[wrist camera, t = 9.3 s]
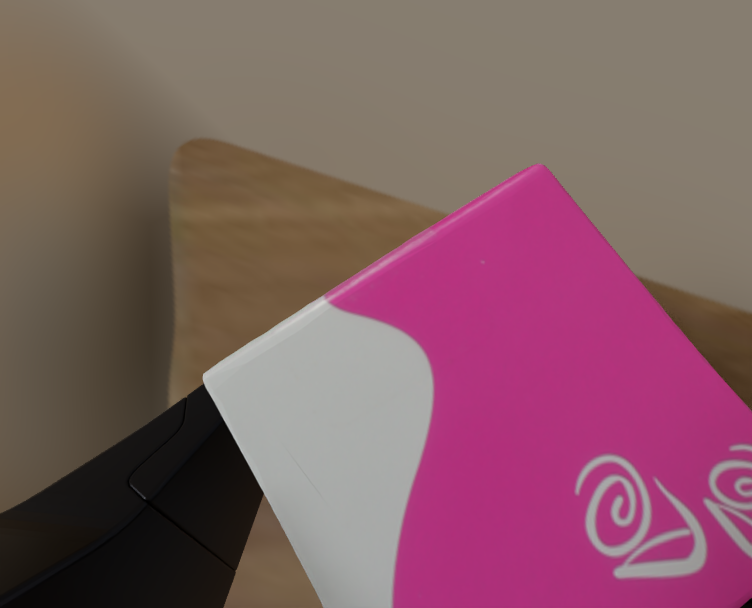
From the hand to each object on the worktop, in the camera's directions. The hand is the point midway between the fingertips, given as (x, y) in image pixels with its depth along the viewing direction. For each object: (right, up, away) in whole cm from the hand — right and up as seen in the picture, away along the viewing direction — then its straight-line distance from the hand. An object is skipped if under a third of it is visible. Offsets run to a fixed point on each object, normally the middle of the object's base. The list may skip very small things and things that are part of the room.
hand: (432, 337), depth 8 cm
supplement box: (0, -3, +6) cm, 7 cm away
